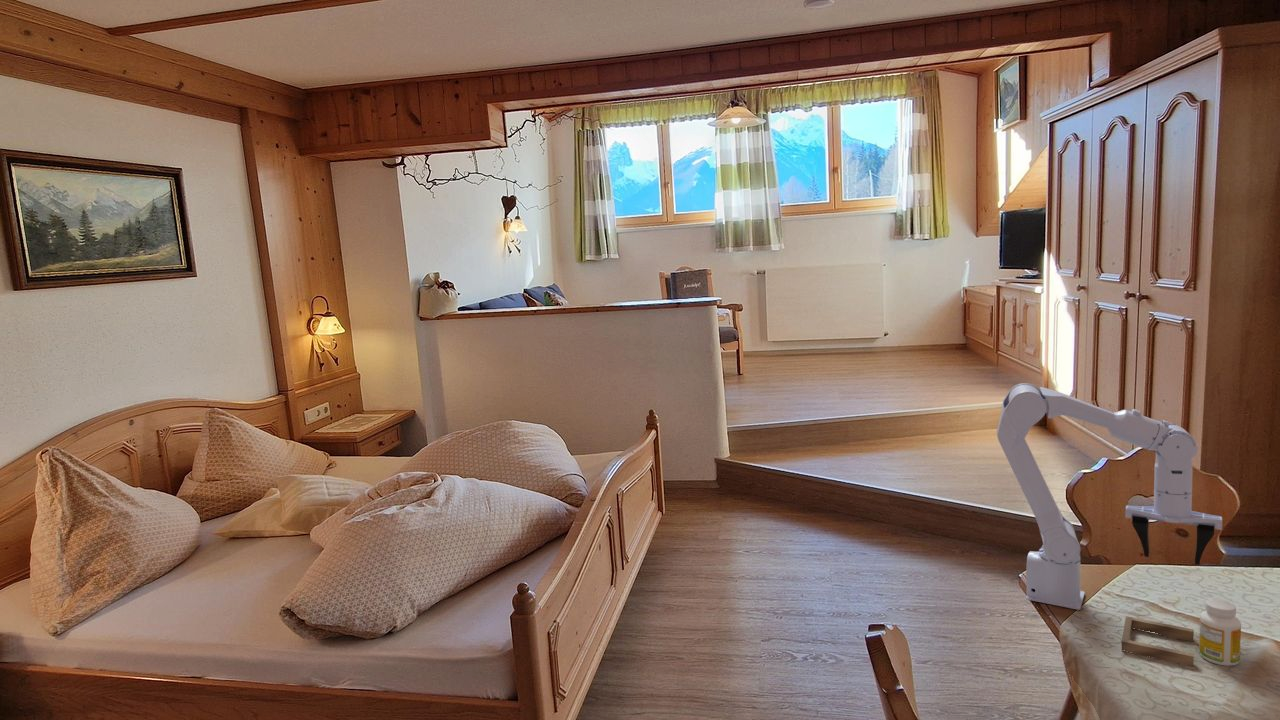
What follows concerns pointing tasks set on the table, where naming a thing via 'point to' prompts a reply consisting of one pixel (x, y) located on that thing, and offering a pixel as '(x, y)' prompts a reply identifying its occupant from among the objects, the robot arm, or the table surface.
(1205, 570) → the table surface
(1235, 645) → the supplement bottle
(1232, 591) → the table surface
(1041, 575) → the robot arm
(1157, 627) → the wooden frame
